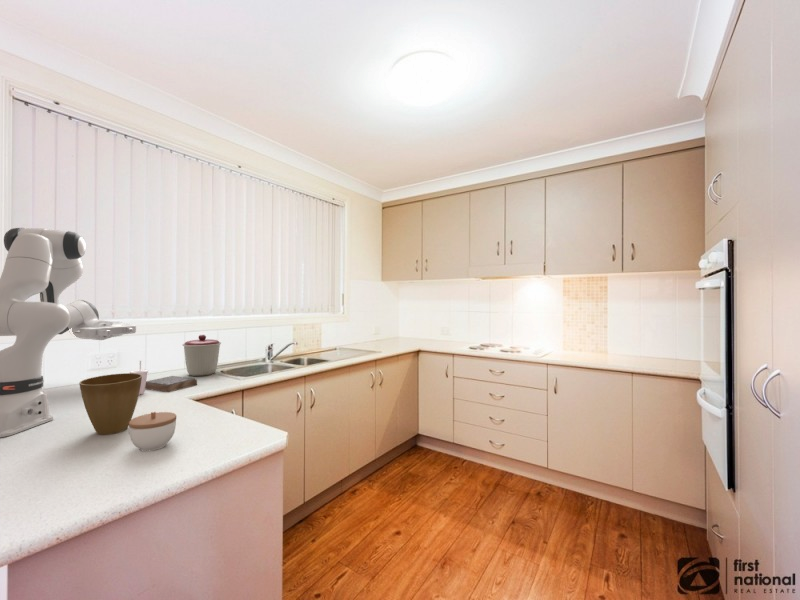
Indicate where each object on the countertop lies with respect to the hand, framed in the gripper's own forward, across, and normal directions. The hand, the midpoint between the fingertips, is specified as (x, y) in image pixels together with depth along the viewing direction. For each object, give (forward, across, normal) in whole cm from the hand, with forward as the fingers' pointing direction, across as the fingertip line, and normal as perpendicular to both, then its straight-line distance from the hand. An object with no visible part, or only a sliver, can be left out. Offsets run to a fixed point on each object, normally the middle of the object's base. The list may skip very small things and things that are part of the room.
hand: (120, 331), depth 156 cm
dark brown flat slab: (+12, +14, +26) cm, 32 cm away
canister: (+2, +39, +26) cm, 47 cm away
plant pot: (+48, -32, +26) cm, 63 cm away
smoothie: (+12, 0, +26) cm, 29 cm away
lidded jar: (+71, -35, +26) cm, 83 cm away
